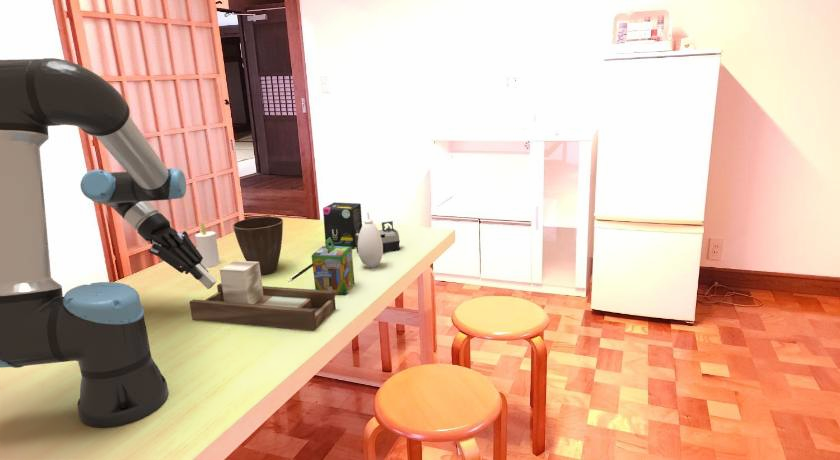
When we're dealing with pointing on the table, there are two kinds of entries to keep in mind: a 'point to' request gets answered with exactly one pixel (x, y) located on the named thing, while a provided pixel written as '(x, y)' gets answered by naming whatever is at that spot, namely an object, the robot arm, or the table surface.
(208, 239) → the candle
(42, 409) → the table surface
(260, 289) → the cream block
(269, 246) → the plant pot
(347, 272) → the chalk box
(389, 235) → the camera
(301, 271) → the pen
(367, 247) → the grey rubber bulb
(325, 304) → the tray
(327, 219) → the tampon box
